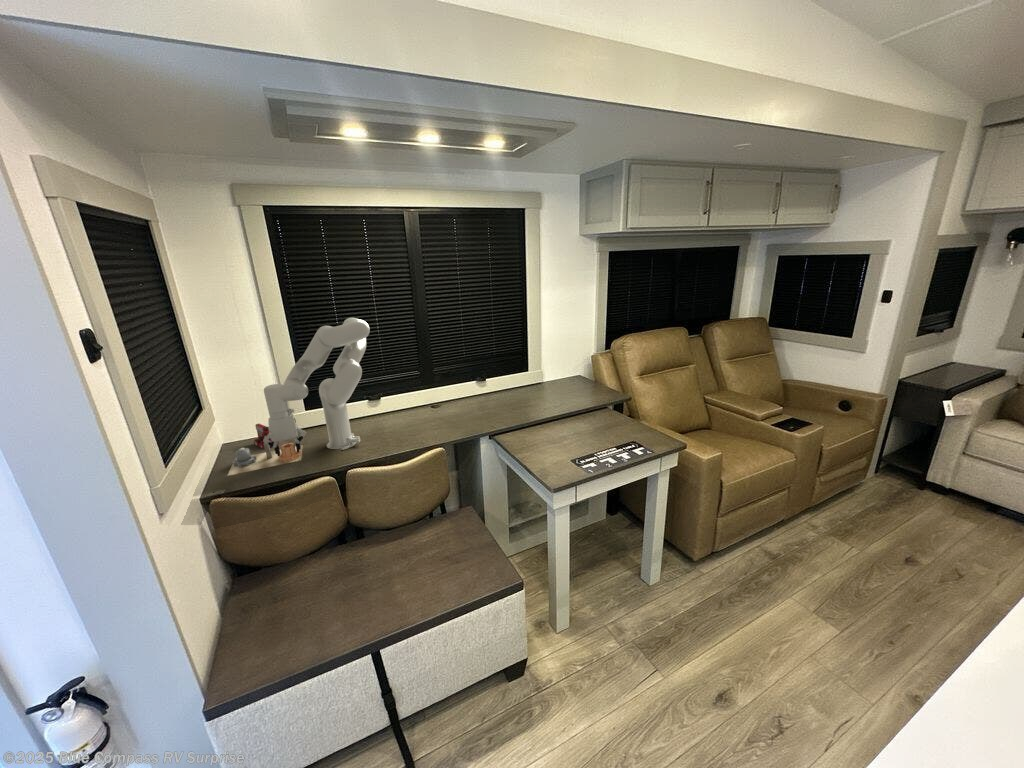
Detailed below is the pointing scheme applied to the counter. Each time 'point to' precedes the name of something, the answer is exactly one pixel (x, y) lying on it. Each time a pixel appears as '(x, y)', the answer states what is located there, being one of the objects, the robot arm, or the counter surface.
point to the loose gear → (288, 452)
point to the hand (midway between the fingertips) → (288, 452)
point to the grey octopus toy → (244, 458)
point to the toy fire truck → (261, 435)
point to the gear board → (263, 461)
